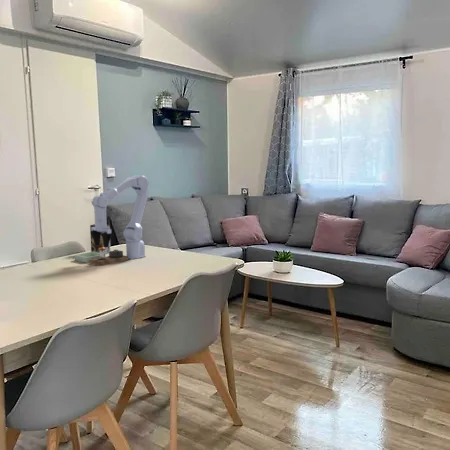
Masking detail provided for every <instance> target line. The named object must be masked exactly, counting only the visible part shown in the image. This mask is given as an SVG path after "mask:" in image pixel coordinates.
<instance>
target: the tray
mask: <svg viewBox="0 0 450 450" xmlns="http://www.w3.org/2000/svg"><path fill="white" fill-rule="evenodd" d="M96 258H100V253H97V252H91V251H88V252H83V253H78V254H74V261H75V262H79V263H83V264H84V263H85V264H90V263H89V260H91V259H96Z"/></svg>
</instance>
